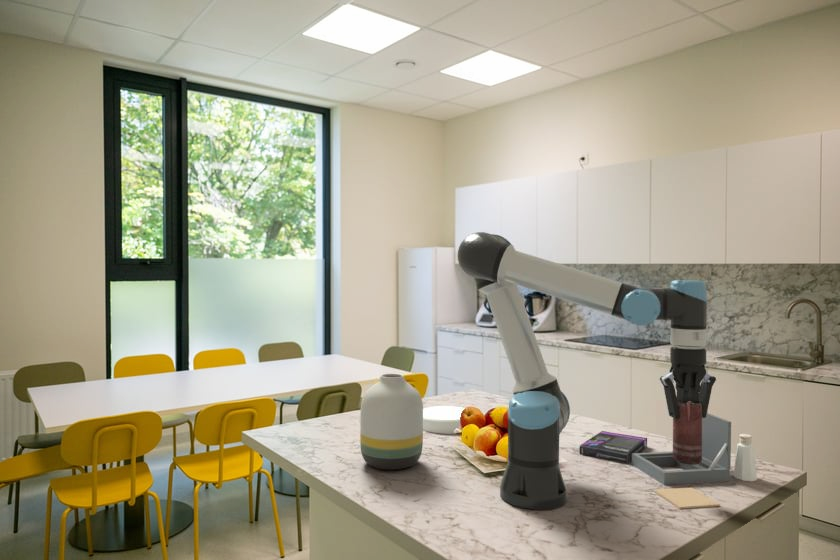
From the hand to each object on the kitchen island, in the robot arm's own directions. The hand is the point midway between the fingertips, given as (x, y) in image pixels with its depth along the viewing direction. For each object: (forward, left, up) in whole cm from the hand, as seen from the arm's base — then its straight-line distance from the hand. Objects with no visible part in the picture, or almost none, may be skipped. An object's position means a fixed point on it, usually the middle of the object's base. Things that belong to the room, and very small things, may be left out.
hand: (687, 448), depth 130 cm
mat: (0, 0, -12) cm, 12 cm away
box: (+1, +36, -13) cm, 38 cm away
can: (0, 0, -3) cm, 3 cm away
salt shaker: (+24, +10, -12) cm, 28 cm away
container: (-42, +69, -12) cm, 82 cm away
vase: (-65, +33, -12) cm, 74 cm away
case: (+9, +16, -12) cm, 22 cm away
